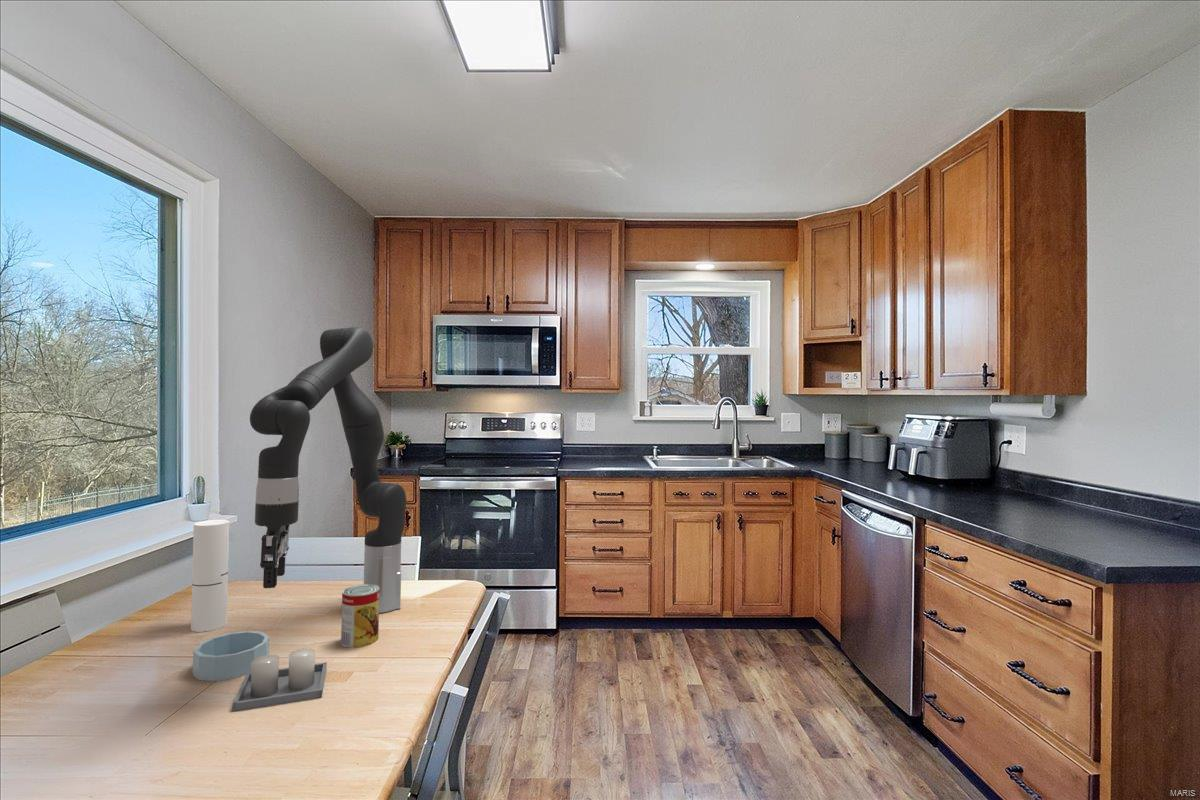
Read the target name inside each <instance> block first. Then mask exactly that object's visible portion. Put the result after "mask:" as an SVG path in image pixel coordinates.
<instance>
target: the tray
mask: <svg viewBox="0 0 1200 800" xmlns="http://www.w3.org/2000/svg"><path fill="white" fill-rule="evenodd" d="M327 664H328V663H327V661H326V662H320V663H315V671H314V684H313V685H312V686H310V687H308V688H306V689H302V690H291V689H289V688H288V679H289V667H283V668H279V673H278V691H277V692H276V693H275V694H273V695H271V696H269V697H263V698H252V697H251V673H247V674H246V675H244V678H243V681H242V683H241V685H240V687H239V689H238V692H237V694H236V696H235V698H234V700H233V702H232V712H238V711H244V710H246V711H247V710H251V709H258V708H262V707H263V708H264V707H265V708H266V707H270V706H271V707H272V706H276V705H284V704H288V703H290V704H291V703H294V702H295V703H296V702H301V701H308V700H309V701H310V700H314V699H315V700H316V699H321V698H323V693H324V686H325V683H326V682H325V680H326V674H327V666H328V665H327Z"/></svg>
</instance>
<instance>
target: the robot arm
mask: <svg viewBox="0 0 1200 800" xmlns="http://www.w3.org/2000/svg"><path fill="white" fill-rule="evenodd" d="M319 350H320V354H321V357H322V359H321V360H320V361H317V362H315V363H313V364H311V365H310V366H307V367H306V368H305V369H303V370H302V371H300V372H299V373H298V374H297V375H296V376H295V377H294V378H293V379H291V381H290V382H289V383H288V384H287V385H285V386H284V387H281V388H279V389H277V390H275V391H273V392H270V393H269V394H267V395H265V396H263V397H262V398H260V400H259V401H257V403H255V405H254V406H253V407H252V409H251V411H250V415H249V424H250V427H251V428H252V429H253V430H254V431H255V433H258V434H261V435H266V436H267V435H269V436H281V439H280V441H279V442H278V443H277V445H275V446H270V447H269V446H268V447H266V448H264V449H262V450H261V451H259V455H258V469H257V470H258V471H257V477H258V478H257V483H256V486H255V487H256V488H255V489H256V490H255V508H254V512H255V513H254V524H255V525H256V526H258V527H265V528H266V532H265V534H263V535H262V536H261V549H260V551H261V552H260V563H259V566H260V568H261V569H263V581H262V587H263V588H264V589H274V588H276V586H277V585H278V577H283V576H284V575H285V573H286V556H287V555H288V551H289V549H290V546H289V538H290V537H289V536H290V534H289V533H290V532H289V531H290V525H293V524H296V523H297V522H298V521H299V505H300V504H299V501H300V499H299V496H300V483H299V461H300V460H299V459H300V454H301V451H302V447H303V444H304V441H305V439H306V438H305V437H306V435H307V433H308V430H309V427H310V422H311V413H310V411H311V410H313V409H314V408H315V407H317V405H318V404H319V403H320V402H321V401H322V400H323V399H324V398H325V396H326V395H327V394H328V393H329V392H330V391H331V390H332V389H333V391H334V395H335V398H336V402H337V406H338V410H339V414H340V419H341V423H342V428H343V432H344V436H345V440H346V443H347V445H348V450H349V451H348V452H349V455H350V460H351V463H352V468H353V475H354V481H355V482H354V483H355V487H356V488H355V489H356V495H357V502H358V505H359V509H360V510H361V512H362V513H363V514H365V516H369V517H371V518H372V517H374V518H378V524H377V528H375V529H373V530H372V529H371V530H369V531H367V532H366V534H365V535H364V549H363V550H364V553H363V555H364V557H363V558H364V559H363V584H371V585H376V586H378V587H379V614H381V613H387V612H392V611H395V610H399V609H401V604H402V603H401V599H402V598H401V596H402V595H401V594H402V592H401V591H402V569H401V568H402V566H401V565H402V562H401V561H402V537H403V534H404V530H405V527H406V526H405V523H406V512H407V511H406V510H407V495H406V491H405V489H404V487H403V486H402V485H400V484H399V483H390V482H382V481H381V478H380V475H379V470H378V460H379V459H378V457H379V455H380V452H381V449H382V446H383V442H384V438H385V433H384V432H385V431H384V426H383V422H382V418H381V413H380V411H379V409H378V407H377V406H376V404H375V403H374V402H373V401H372V400H371V398H369V396H367V395H366V393H364V391H363V390H362V389H361V388H360V387H359V386H358V385H357V383H356V382H355V380H354V378H353V375H352V373H353V372H354V371H356V369H358V368H360V367H361V366H364V364H366V363H367V362H368V361H369V360H370V358H372V355H373V353H374V342H373V338H372V336H371V334H370V332H369V331H368V330H366V329H365V328H363V327H355V326H353V327H350V326H349V327H344V328H332V329H326V330H324V331H323V332H322V333H321V335H320V337H319ZM269 558H272V560H269Z"/></svg>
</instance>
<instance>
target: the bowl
mask: <svg viewBox="0 0 1200 800" xmlns="http://www.w3.org/2000/svg"><path fill="white" fill-rule="evenodd" d="M269 651H270V636H269V635H268V634H266V633H265V632H263V631H256V630H255V631H254V630H243V631H237V632H236V631H235V632H228V633H224V634H221V635H217V636H213V637H211V638H209V639H207V640H204V641H202V642H201V643H198V644H197V645H196V647H195V648H194V649H193V651H192V676H193V677H195V678H196V679H197V680H198V681H208V682H209V681H210V682H218V681H225V680H233V679H237V678H239V677H240V678H241V677H243V676H246V674H247V673H251V662H252V661H253V660H254V659H256V658H258V657H261V656H265V655H270V654H269V653H270V652H269Z"/></svg>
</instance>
